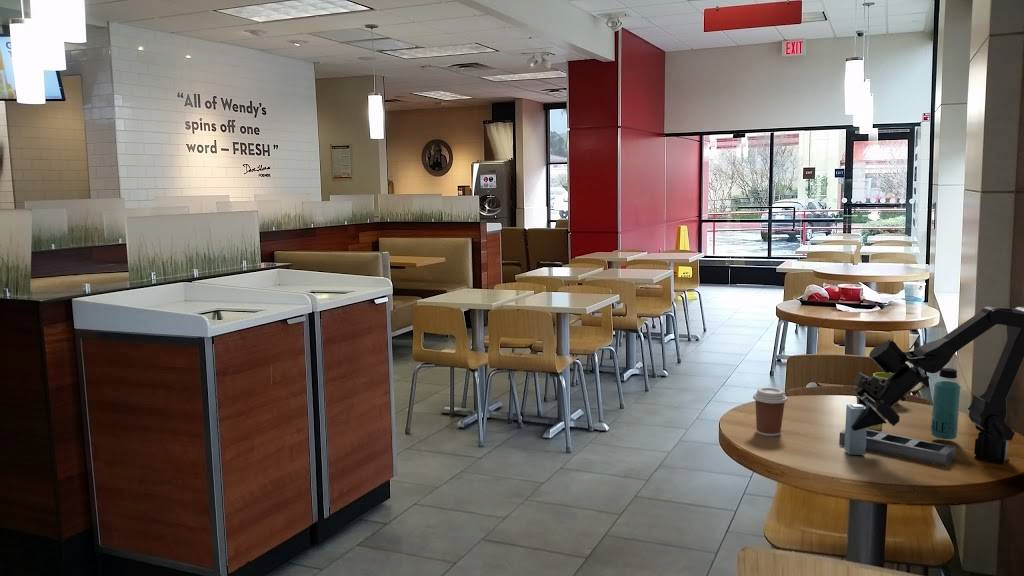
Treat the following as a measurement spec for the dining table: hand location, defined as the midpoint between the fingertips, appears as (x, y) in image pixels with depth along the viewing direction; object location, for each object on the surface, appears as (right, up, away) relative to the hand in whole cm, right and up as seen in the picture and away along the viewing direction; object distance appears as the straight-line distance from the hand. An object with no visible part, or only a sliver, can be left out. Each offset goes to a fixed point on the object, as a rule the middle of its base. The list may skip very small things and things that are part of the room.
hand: (850, 426), depth 209 cm
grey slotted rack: (+13, -7, +4) cm, 15 cm away
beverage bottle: (+30, -6, +11) cm, 32 cm away
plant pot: (+33, -1, +50) cm, 60 cm away
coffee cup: (-15, -5, +18) cm, 24 cm away
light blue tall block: (+1, -7, +1) cm, 7 cm away
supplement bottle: (+14, -5, +20) cm, 25 cm away
